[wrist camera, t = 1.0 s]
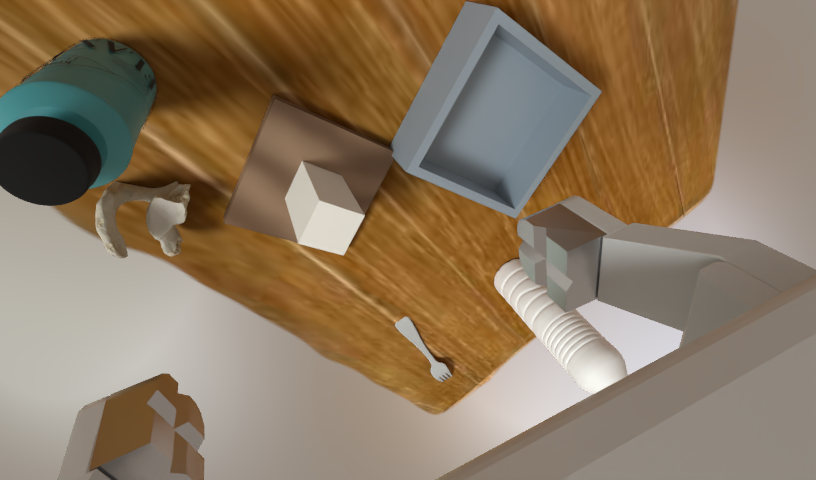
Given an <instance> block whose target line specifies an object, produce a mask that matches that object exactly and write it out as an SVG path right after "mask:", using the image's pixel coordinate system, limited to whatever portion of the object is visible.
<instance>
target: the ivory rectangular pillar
mask: <svg viewBox="0 0 816 480" xmlns="http://www.w3.org/2000/svg"><path fill="white" fill-rule="evenodd" d="M285 201H286V204H287V208H288V211H289V214H290V217H291V221H292V224H293V227H294V231H295V234H296V237H297V241H298V244H302V245H306V246H309V247H313V248H317V249H321V250H325V251H328V252H332V253H336V254H340V255H344V254H345V252H346V250H347V248H348V246H349V244H350V243H351V241H352V239H353V237H354V235H355V233H356V231H357V230H358V228H359V226H360V224H361V222H362V220H363V218H364V217H365V215H364V213H363V211H362V210H361V208H360V206H359V204H358V203H357V201H356V199H355V198H354V196H353V194H352V192H351V191H350V189H349V187H348V186H347V184H346V182H345V181H344V179H343V177H342V176H341V175H338V174H336V173H333V172H331V171H328V170H325V169H323V168H320V167H317V166H315V165H312V164H309V163H307V162H304V161H302V162H301V164H300V166H299V169H298V171H297V173H296V175H295V177H294V179H293V182H292V184H291V186H290V188H289V190H288V193H287V195H286V197H285Z"/></svg>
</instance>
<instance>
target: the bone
mask: <svg viewBox="0 0 816 480" xmlns="http://www.w3.org/2000/svg"><path fill="white" fill-rule="evenodd" d="M190 186H191V185H190V184H184V185H183V184H178V181H176V182H174V183H171V184H169V185H167V186H164V187H160V188H147V187H141V186H137V185H131V184H126V183H121V182H118V181H114V182H113V183H112V184H111V185H110V186H109V187H108V188H107V189H106V190H105V191H104V192H103V195H102V197H101V199H100V200H99V201H98V203H97V204H96V215H95V217H96V230H97V232H98V234H99V236H100V237H101V238H102V240H103V243H104V246H105V248H106V250H107V251H108V252H109V253H110V254H112V255H113V256H115V257H118V258H125V257H127V256H128V255H127V250H126V244H125V242H124V239H123V237H122V235H121V234H120V233H119V231H118V229H117V226H116V218H115V216H116V211H117V209H118V208H119V206H120V205H121V204H123V203H125V202H128V201H134V200H140V201H146V202H150V204H149V206H148V209H147V215H146V223H147V227H148V230H149V232H150V233H151V234H152V235H153V237H154V238H155V239H156V240H159V241H160V242H161V247H162V249H163V252H164V253H165V254H167V255H168V256H174V255H177V254H180V253H182V252H181V251H180V243H181V241H183V240H182V238H181V236H180V234H179V231H178V229H177V228H176V227H175V224H181V223H184V221H185V220H186V215H187V210H186V208H187V206H188V202H189V201H190V195H189V189H190Z"/></svg>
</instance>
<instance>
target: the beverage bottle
mask: <svg viewBox="0 0 816 480" xmlns="http://www.w3.org/2000/svg"><path fill="white" fill-rule="evenodd" d="M91 38H92V37H91ZM91 38H90V39H91ZM102 38H104V37H102ZM102 38H101V39H100V38H99V39H91V40H89V39H88V40H85V39H86V38H85V39H84V40H83V41H81V40H80V41H81V43H79V44H77V45H76V46H74V47H72V48H71V49H70V50H67V48H66V50H67V51H66V53H65V52H61V53H60V54H62V53H64V54H63V55H61V56H60V57H58V58H57V59H56V57H57V56H59V55H60V54H58V55H56V56H55V57H54V58H55V59H54V58H53V59H54V60H53V59H52V60H51V61H52V62H51V61H50V60H48V61H50V62H51V63H50V64H49V63H48V65H47V64H46V65H47V66H46V65H45V66H46V67H44V64H45V63H44V64H43V67H44V68H42V69H41V70H40V71H38V72H37V73H36V74H33V76H31V75H28V76H30V78H29V77H27V76H26V77H27V78H28V79H27V80H26V79H25V78H24V77H23V78H24V79H25V81H24V79H23V81H24V82H23V81H22V82H23V83H22V84H21V85H18V86H15V87H14V88H13V89H11V90H9V91H8V92H7V93H6V94H4V95H3V96H2V97H1V99H0V186H2V187H3V188H4V189H5V190H6V191H8V192H9V193H10V194H12V195H14V196H16V197H18V198H20V199H22V200H24V201H27V202H30V203H34V204H38V205H47V206H56V205H62V204H67V203H69V202H72V201H74V200H76V199H78V198H80V197H81V196H82V195H83V194H84V193H85V192H86V191H87V190H88V189H91V188H95V187H99V186H102V185H105V184H107V183H109V182H111V181H113V180H115V179H116V178H118V177H119V176H120V175H121V174H122V173H123V172H124V171H125V169H126V168H127V166H128V164H129V162H130V160H131V157H132V153H133V148H134V146H135V143H136V141H137V138H138V136H139V133H140V131H141V128H142V127H143V125H144V123H145V121H147V120H146V118H147V116H149V115H148V114H149V111H150V109H151V107H152V104H153V102H154V99H155V97H156V82H157V81H155V77H154V73H153V72H152V70H151V67H149V64H147V62H146V61H147V60H146V61H145V60H144V59H143V58H142V57H141V56H140V55H139V54H140V53H139V52H138V53H139V54H138V53H136V52H135V51H134V50H135V49H134V50H133V49H131V48H132V47H131V48H129V47H128V46H126V45H123V44H122V43H119V42H120V41H119V42H116V41H117V40H116V41H112V40H108V39H107V40H106V39H102ZM109 39H110V38H109ZM113 40H114V39H113ZM80 41H79V42H80ZM73 45H75V44H73ZM73 45H72V46H73ZM68 48H69V47H68ZM40 67H42V66H40ZM40 67H39V68H40ZM39 68H37V69H39ZM33 72H34V71H33ZM35 72H36V71H35ZM29 74H31V73H29ZM155 76H156V75H155ZM157 83H158V82H157ZM157 92H158V91H157ZM156 100H157V99H156ZM154 104H155V103H154ZM153 108H154V106H153ZM153 108H152V109H153ZM150 115H151V113H150ZM149 117H150V116H149ZM144 126H145V125H144ZM143 128H144V127H143Z"/></svg>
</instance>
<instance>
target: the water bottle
mask: <svg viewBox="0 0 816 480" xmlns="http://www.w3.org/2000/svg"><path fill="white" fill-rule="evenodd" d="M494 280H495V281H494V286H495V288H496V289H497V291H498V292H499V293H500V294H501V295H502V296H503V297H504V298H505V300H506V301H507V302H508V303H509V304H510V305H511V306H512V308H513V309H514V310H515V312H516V313H517V314H518V315H519V316H520V317H521V319H522V320H523V321H524V322H525V323H526V324H527V326H528V327H529V328H530V329H531V330H532V331H533V332H534V334H535V335H536V336H537V338H538V339H539V340H540V341H541V342H542V343H543V344H544V345H545V347H546V348H547V349H548V350H549V351H550V353H552V355H553V356H554V357H555V358H556V360H557V361H558V362H559V363H560V364H561V365H562V367H564V369H565V370H566V371H567V372H568V373H569V375H570V376H571V378H572V379H573V380H574V381H575V383H577V385H578V386H579V387H581V388H582V389H583V390H585V391H587V392H589V393H592V394H595V393H597V392H599V391H600V390H602V389H604V388H606V387H608V386H610V385H612V384H613V383H615V382H617V381H619V380H621V379H623V378H624V377H626V376H628V375H627V370H626V365H625V362H624V359H623V357H622V355H621V354H620V353H619V352H618V350H617V349H616V348H615V347H614V346H613V345H611V344H610V343H609V342H608V341H607V340H606V339H605V338H604V337H602V335H601V334H600V333H599V332H598V331H597V330H596V329H595V328H594V327H592V325H591V324H589V323H588V321H587V320H586V319H584V318H583V316H582V315H580V314H579V313H578V311H577V310H576V309H573V310H571V311H569V312H567V313H566V312H565V311H563V310H562V309H561V308H560V307H559V306H558V305H557V304H556V303H555V302H554V301H553V300H552V299H551V298H550V297H549V296H547V287H545V286H541V285H537V284H535V283H534V282H533V281H532V280H531V279H530V278H529V277H528V276H527V274H526V273H525V271H524V269H523V267H522V264H521V262H520V259H513V260H511V261H509V262H507V263H505V264H504V265H503V266H502V267H501V268H500V270H499V271H497V273H496V275H495V278H494Z"/></svg>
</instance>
